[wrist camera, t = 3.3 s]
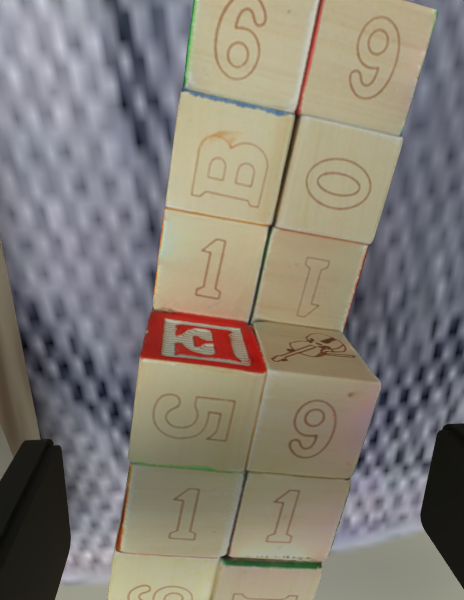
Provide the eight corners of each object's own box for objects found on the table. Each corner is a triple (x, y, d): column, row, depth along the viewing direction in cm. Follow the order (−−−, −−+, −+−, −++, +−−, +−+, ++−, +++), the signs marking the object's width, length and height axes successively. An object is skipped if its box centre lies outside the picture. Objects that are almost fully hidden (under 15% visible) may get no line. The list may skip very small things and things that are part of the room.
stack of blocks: (196, 41, 18) (206, -160, 7) (332, 74, 19) (547, -50, 8) (136, 446, 25) (88, 702, 13) (239, 456, 26) (279, 705, 14)
